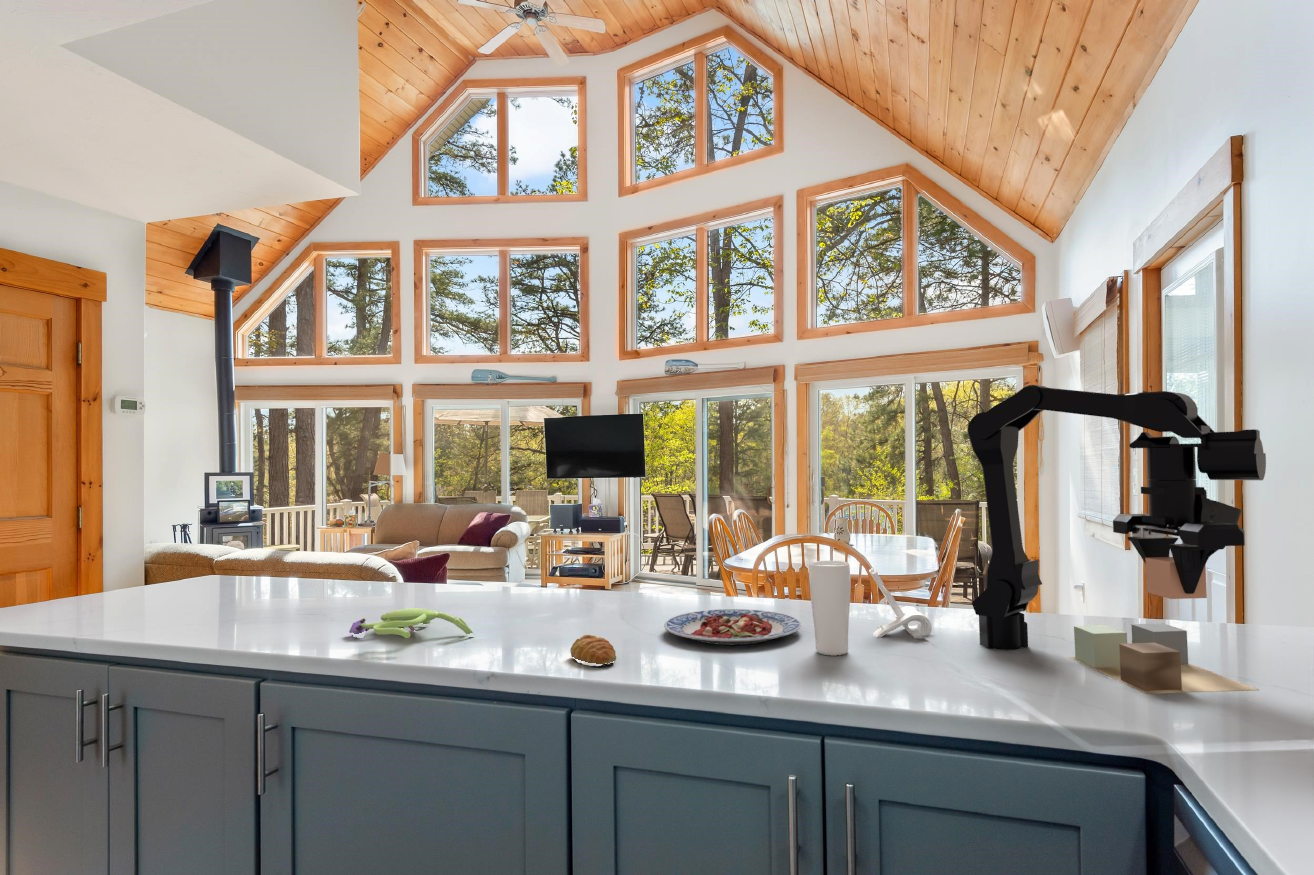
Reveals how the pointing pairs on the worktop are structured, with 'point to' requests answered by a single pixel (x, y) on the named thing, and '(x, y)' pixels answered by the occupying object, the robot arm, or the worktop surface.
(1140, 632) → the grey block
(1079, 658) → the sage block
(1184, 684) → the oak board
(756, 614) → the ceramic plate
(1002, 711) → the worktop surface
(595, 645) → the pastry
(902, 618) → the plastic part
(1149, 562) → the terracotta block
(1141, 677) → the walnut block
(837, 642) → the drinking glass
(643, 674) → the worktop surface
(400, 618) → the figurine
